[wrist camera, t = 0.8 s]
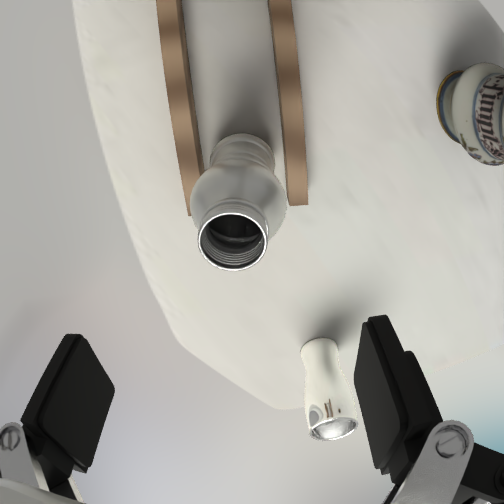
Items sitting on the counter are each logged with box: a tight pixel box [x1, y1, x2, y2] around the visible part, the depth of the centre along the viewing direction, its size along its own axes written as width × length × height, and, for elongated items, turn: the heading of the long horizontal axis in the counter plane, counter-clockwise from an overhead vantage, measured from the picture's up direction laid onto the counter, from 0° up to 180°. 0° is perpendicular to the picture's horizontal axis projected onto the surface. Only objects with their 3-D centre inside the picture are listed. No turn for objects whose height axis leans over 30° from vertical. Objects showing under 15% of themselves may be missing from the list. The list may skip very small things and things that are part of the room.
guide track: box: [156, 0, 308, 216], centre depth 27 cm, size 28×13×6 cm, turn 6°
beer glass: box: [300, 338, 358, 440], centre depth 42 cm, size 7×7×15 cm
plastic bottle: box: [190, 133, 287, 271], centre depth 25 cm, size 6×7×20 cm
